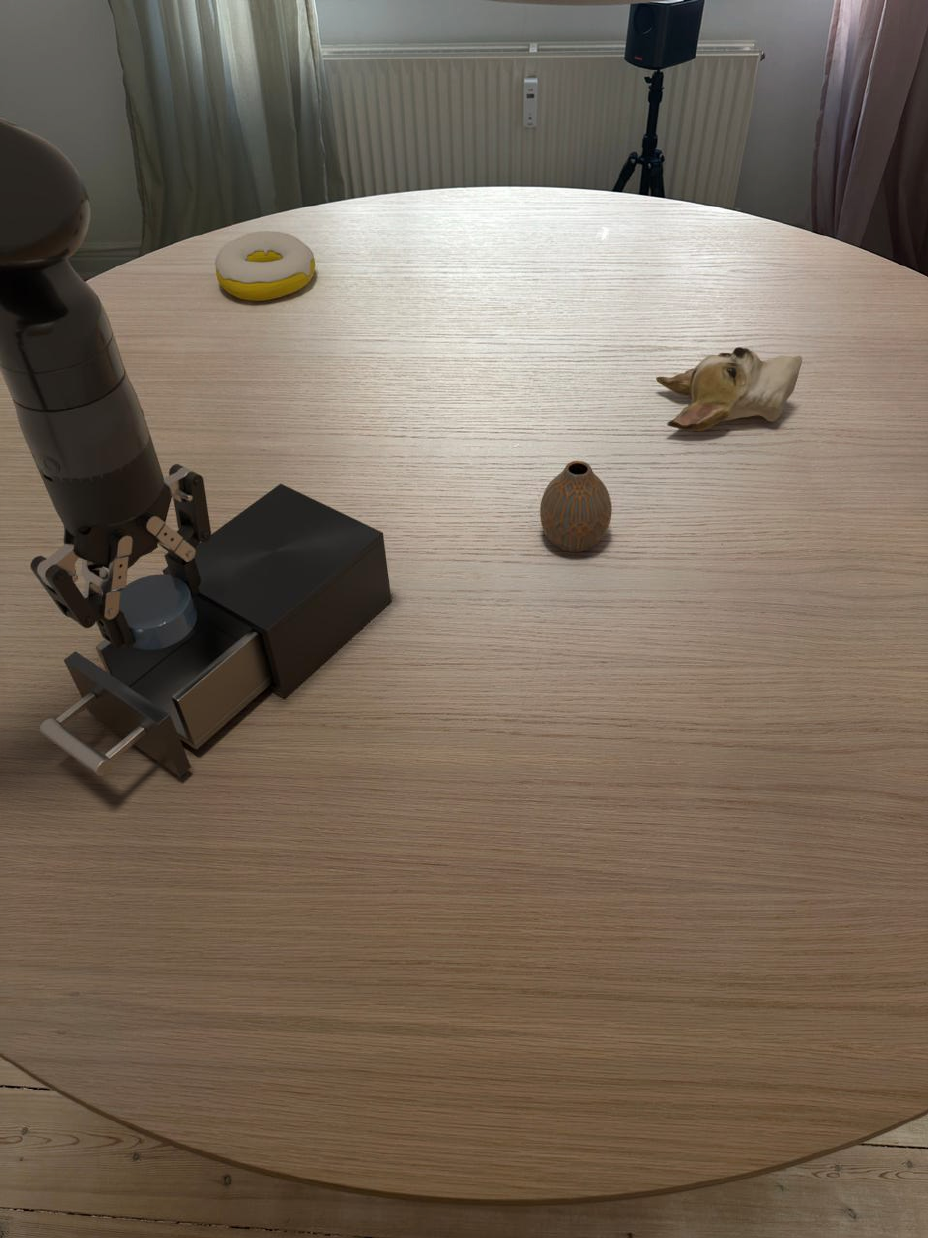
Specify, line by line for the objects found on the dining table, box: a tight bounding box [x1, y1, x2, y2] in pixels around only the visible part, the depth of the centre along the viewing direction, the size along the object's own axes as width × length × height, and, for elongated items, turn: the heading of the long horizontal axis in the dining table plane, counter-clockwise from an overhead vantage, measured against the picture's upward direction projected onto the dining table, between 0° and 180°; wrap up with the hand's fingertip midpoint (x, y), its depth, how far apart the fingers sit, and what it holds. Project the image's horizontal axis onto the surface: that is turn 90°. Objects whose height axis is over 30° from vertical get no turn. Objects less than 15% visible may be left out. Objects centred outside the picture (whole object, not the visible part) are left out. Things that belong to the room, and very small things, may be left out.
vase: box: [539, 460, 613, 553], centre depth 95 cm, size 7×7×9 cm
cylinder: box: [119, 573, 197, 650], centre depth 77 cm, size 6×6×2 cm
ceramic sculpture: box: [655, 346, 803, 432], centre depth 109 cm, size 11×9×15 cm
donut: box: [214, 230, 316, 302], centre depth 137 cm, size 14×14×5 cm
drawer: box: [39, 596, 274, 778], centre depth 81 cm, size 18×11×7 cm, turn 143°
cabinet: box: [162, 483, 392, 700], centre depth 89 cm, size 15×13×9 cm
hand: (156, 616), depth 77 cm, fingers closed on cylinder, 6 cm apart
